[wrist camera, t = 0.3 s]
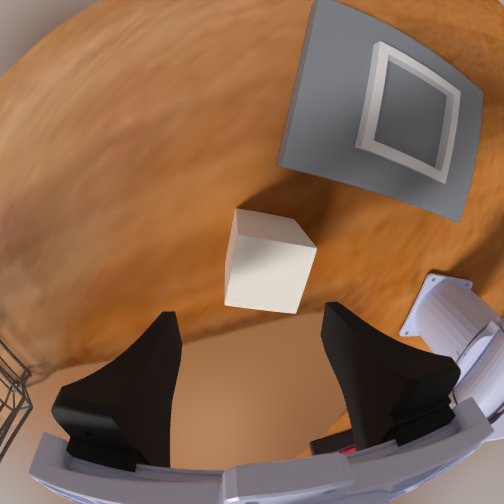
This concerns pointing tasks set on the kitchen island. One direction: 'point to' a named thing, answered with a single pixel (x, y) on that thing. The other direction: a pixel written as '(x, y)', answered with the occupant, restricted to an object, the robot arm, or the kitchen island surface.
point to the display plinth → (381, 113)
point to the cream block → (267, 262)
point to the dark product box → (334, 444)
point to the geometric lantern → (18, 408)
